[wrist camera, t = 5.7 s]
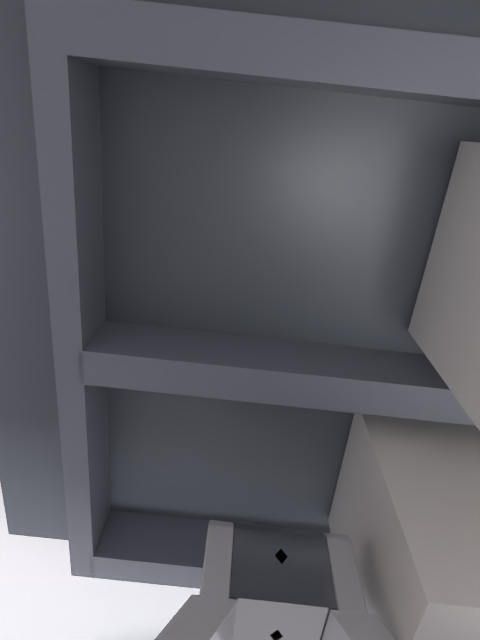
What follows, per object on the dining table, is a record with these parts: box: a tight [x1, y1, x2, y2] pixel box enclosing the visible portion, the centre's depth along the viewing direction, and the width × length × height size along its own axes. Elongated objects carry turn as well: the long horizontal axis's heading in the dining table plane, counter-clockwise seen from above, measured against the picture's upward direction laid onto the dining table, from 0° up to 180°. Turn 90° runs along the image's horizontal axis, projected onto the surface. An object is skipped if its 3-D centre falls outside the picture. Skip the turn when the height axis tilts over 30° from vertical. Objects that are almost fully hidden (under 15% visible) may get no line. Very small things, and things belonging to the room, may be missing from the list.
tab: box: [328, 413, 480, 640], centre depth 9 cm, size 4×4×5 cm
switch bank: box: [0, 0, 480, 589], centre depth 10 cm, size 20×18×4 cm
